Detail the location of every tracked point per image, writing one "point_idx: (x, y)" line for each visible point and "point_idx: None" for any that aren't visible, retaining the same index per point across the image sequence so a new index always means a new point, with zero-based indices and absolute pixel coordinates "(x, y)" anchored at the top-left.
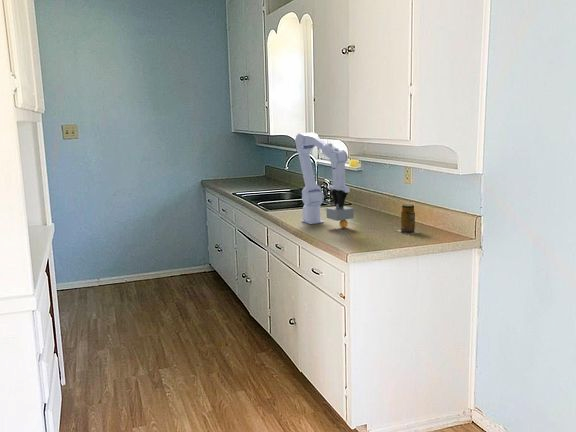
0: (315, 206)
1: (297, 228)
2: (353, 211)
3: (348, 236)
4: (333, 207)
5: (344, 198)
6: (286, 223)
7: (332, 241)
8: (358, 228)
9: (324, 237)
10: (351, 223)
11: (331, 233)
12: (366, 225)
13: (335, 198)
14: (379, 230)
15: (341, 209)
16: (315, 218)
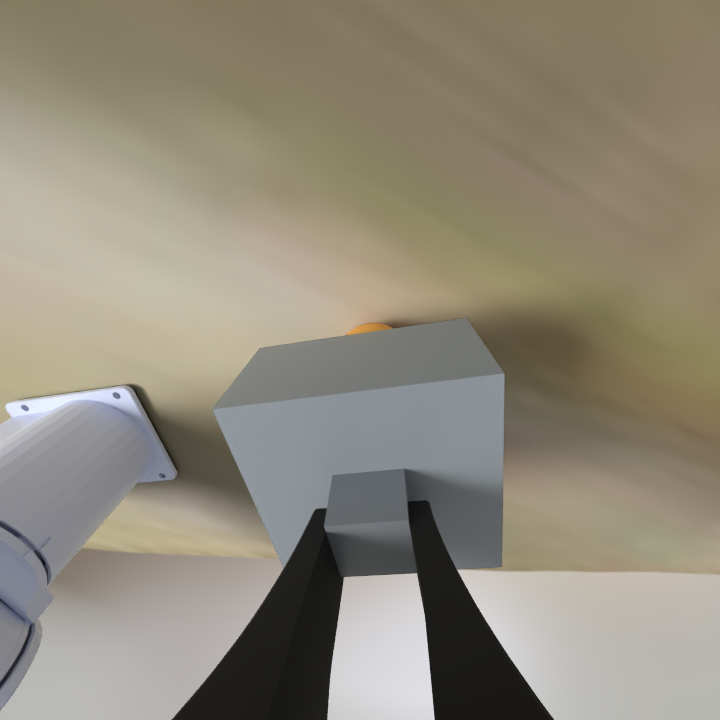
0: (51, 553)
1: (269, 553)
2: (489, 351)
3: (650, 434)
4: (289, 526)
5: (485, 638)
6: (116, 550)
7: (679, 543)
8: (461, 248)
9: (562, 537)
10: (222, 201)
11: None
12: (376, 95)
13: (323, 678)
14: (684, 88)
15: (469, 516)
16: (133, 467)
